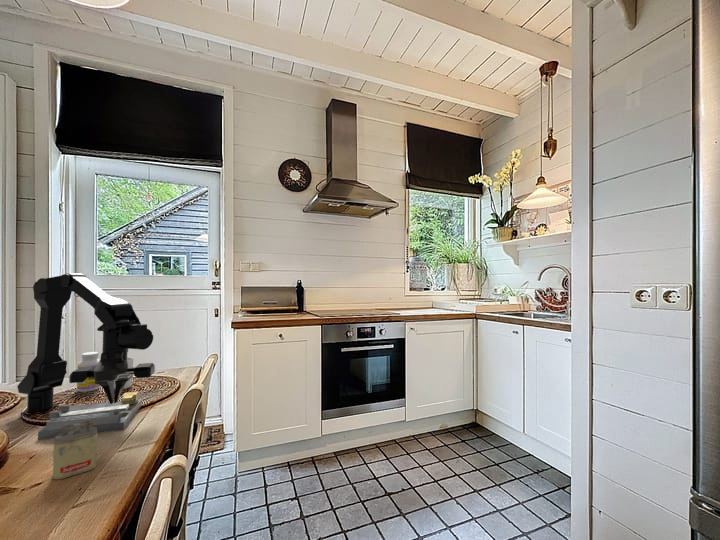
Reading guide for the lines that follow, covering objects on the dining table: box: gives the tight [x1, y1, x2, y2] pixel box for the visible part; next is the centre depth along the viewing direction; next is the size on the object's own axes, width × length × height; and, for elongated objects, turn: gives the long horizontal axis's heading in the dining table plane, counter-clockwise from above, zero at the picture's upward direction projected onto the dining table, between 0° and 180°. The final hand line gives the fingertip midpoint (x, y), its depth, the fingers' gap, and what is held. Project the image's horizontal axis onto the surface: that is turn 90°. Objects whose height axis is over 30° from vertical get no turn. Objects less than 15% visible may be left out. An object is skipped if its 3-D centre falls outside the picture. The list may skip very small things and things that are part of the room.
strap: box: [61, 404, 129, 418], centre depth 93 cm, size 16×3×1 cm, turn 110°
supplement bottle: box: [76, 351, 101, 393], centre depth 121 cm, size 7×7×13 cm
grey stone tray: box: [37, 398, 143, 441], centre depth 95 cm, size 18×18×5 cm
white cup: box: [114, 356, 135, 390], centre depth 125 cm, size 7×7×10 cm
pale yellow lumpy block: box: [121, 391, 140, 405], centre depth 103 cm, size 6×4×3 cm, turn 20°
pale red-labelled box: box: [51, 419, 98, 480], centre depth 71 cm, size 7×4×10 cm, turn 134°
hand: (113, 403), depth 95 cm, fingers closed
